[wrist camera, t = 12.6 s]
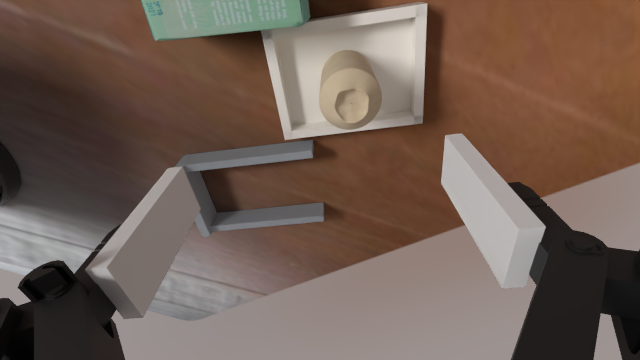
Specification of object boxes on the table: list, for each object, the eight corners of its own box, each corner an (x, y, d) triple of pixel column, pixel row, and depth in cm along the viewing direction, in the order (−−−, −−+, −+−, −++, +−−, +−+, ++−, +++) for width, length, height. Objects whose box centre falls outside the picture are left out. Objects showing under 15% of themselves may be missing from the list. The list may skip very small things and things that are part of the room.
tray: (287, 131, 39) (284, 139, 37) (264, 26, 33) (260, 29, 31) (417, 115, 37) (422, 123, 35) (420, 1, 31) (427, 3, 29)
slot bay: (211, 218, 47) (202, 237, 44) (184, 154, 41) (171, 170, 38) (324, 207, 45) (323, 226, 42) (312, 139, 39) (311, 154, 36)
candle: (311, 68, 34) (305, 97, 26) (354, 38, 32) (363, 58, 24) (338, 108, 37) (340, 147, 28) (380, 82, 35) (396, 115, 26)
